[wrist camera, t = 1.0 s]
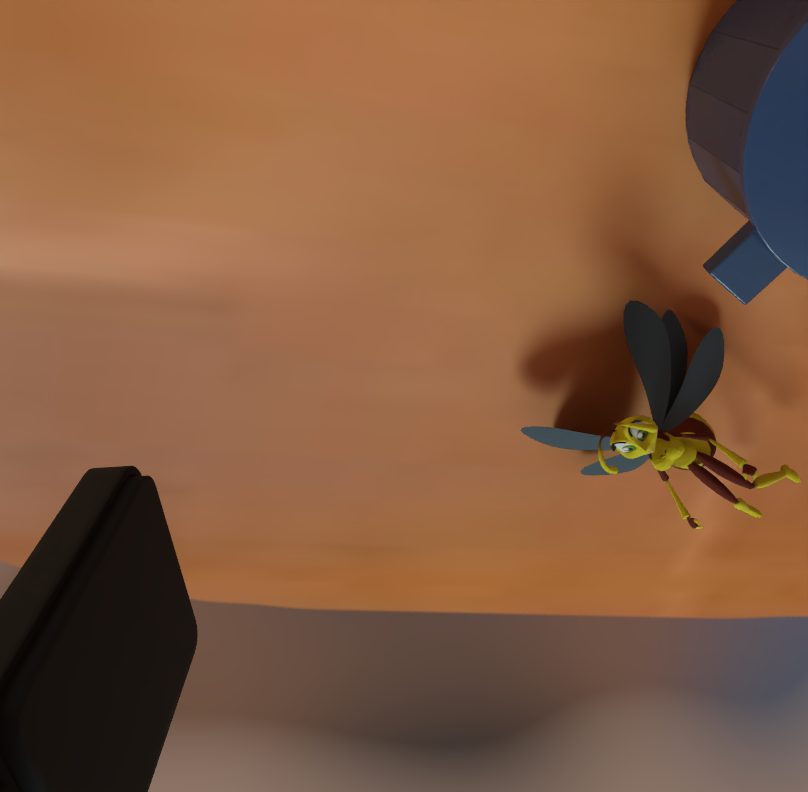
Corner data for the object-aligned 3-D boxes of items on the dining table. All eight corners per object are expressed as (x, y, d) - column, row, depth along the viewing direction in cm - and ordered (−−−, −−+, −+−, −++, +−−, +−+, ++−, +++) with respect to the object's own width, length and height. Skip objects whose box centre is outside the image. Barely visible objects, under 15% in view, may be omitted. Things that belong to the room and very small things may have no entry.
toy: (739, 617, 44) (529, 520, 39) (685, 518, 51) (501, 424, 46) (906, 477, 39) (690, 345, 34) (820, 388, 46) (631, 267, 41)
